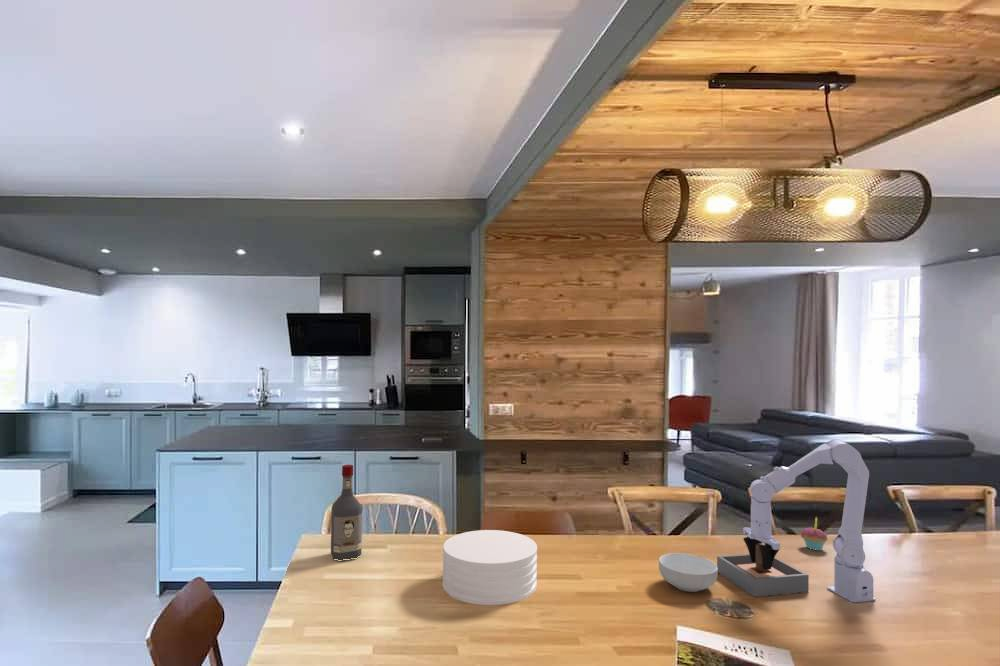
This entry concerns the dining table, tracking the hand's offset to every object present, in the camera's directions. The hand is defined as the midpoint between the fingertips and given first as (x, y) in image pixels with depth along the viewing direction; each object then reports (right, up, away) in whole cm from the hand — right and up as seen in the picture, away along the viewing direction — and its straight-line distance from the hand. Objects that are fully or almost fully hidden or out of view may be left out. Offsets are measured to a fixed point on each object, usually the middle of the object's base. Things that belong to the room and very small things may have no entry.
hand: (760, 565), depth 170 cm
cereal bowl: (-24, -5, -4) cm, 25 cm away
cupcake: (+33, -6, +29) cm, 44 cm away
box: (0, -5, 0) cm, 5 cm away
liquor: (-131, -4, +16) cm, 132 cm away
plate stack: (-83, -4, -4) cm, 83 cm away
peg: (0, -4, 0) cm, 4 cm away
